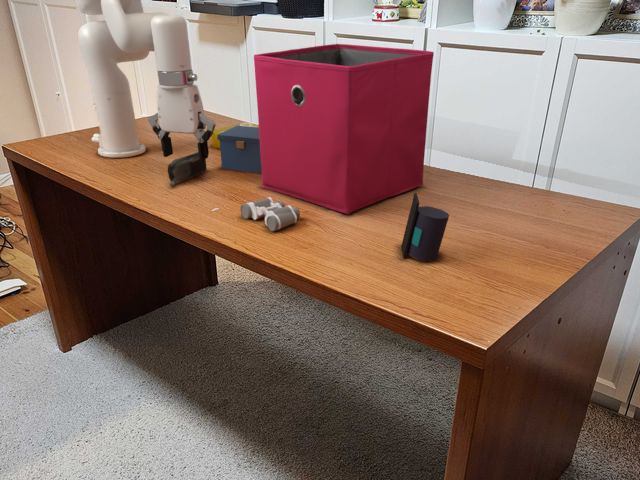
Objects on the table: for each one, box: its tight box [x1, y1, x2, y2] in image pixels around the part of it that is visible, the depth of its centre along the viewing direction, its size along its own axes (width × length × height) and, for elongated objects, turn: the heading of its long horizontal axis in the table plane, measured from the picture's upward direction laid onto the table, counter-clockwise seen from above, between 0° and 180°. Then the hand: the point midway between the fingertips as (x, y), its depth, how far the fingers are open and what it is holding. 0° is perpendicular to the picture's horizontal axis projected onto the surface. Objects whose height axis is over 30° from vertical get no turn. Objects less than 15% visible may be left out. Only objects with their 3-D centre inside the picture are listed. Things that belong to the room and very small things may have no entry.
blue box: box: [217, 126, 262, 174], centre depth 150 cm, size 13×11×8 cm
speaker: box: [400, 192, 450, 262], centre depth 104 cm, size 8×6×10 cm
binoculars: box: [240, 196, 301, 232], centre depth 120 cm, size 12×8×4 cm, turn 41°
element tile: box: [210, 122, 259, 150], centre depth 168 cm, size 15×15×5 cm
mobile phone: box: [167, 151, 207, 187], centre depth 142 cm, size 5×3×15 cm
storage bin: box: [253, 43, 435, 215], centre depth 131 cm, size 28×29×28 cm
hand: (186, 157), depth 141 cm, fingers open, 9 cm apart
